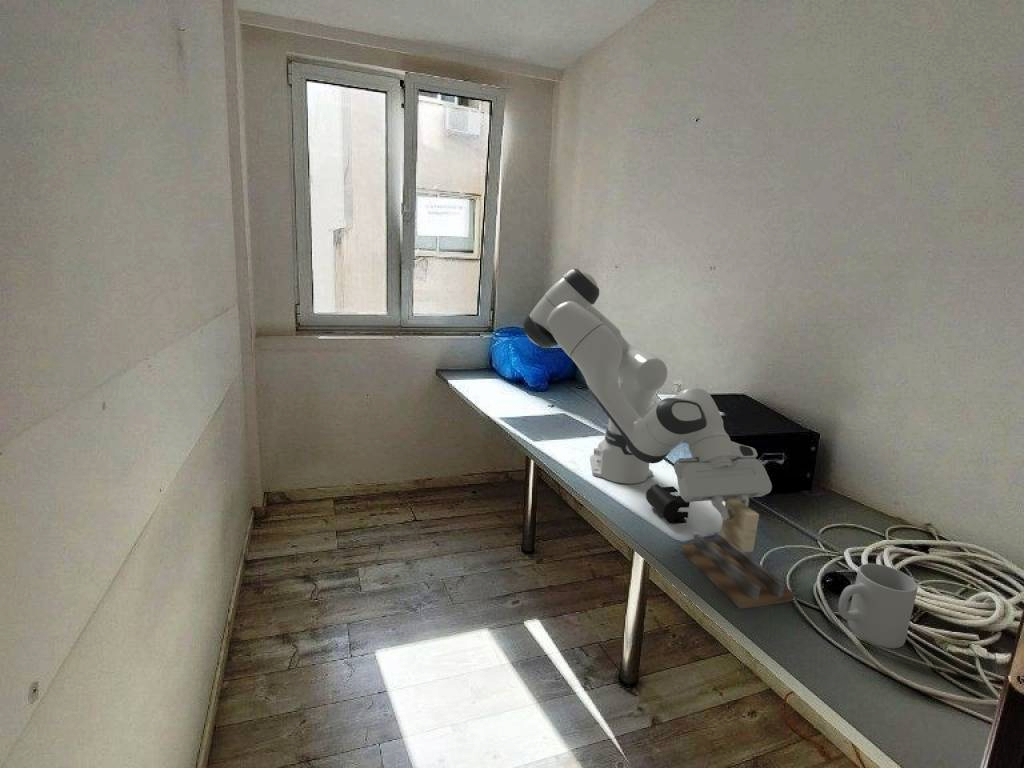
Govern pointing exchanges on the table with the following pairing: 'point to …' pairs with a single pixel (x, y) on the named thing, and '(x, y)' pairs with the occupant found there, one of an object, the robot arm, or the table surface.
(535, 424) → the table surface
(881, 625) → the mug
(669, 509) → the black notched cylinder
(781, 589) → the track board
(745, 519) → the beige rectangular block
